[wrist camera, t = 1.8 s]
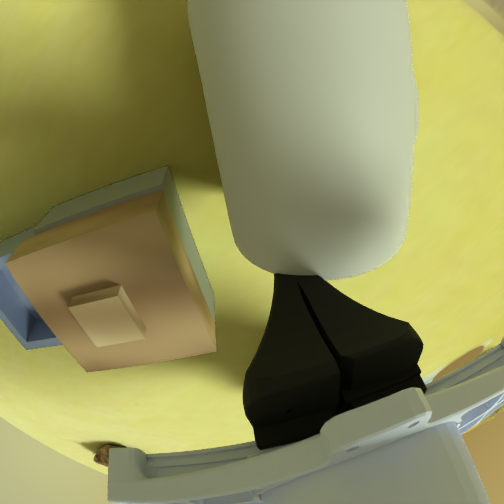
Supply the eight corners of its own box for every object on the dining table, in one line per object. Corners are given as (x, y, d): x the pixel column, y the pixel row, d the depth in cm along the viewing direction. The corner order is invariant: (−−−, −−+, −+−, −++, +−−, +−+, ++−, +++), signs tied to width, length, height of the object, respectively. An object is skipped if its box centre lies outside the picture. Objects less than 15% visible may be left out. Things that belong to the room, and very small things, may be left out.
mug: (160, 19, 10) (205, 224, 17) (257, -59, 4) (303, 319, 10) (350, 14, 14) (361, 165, 21) (471, 12, 8) (466, 208, 14)
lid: (214, 321, 19) (217, 362, 16) (93, 345, 19) (84, 381, 16) (163, 189, 14) (153, 220, 11) (23, 239, 14) (-2, 272, 11)
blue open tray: (109, 308, 21) (101, 338, 19) (37, 324, 21) (26, 349, 19) (58, 217, 17) (39, 241, 14) (-14, 248, 17) (-32, 271, 14)
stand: (213, 293, 22) (215, 324, 19) (114, 315, 22) (106, 345, 19) (168, 165, 16) (161, 184, 14) (53, 206, 16) (33, 230, 14)
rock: (111, 437, 34) (79, 455, 35) (122, 473, 30) (87, 487, 31) (154, 443, 41) (119, 461, 41) (165, 474, 36) (129, 489, 37)
